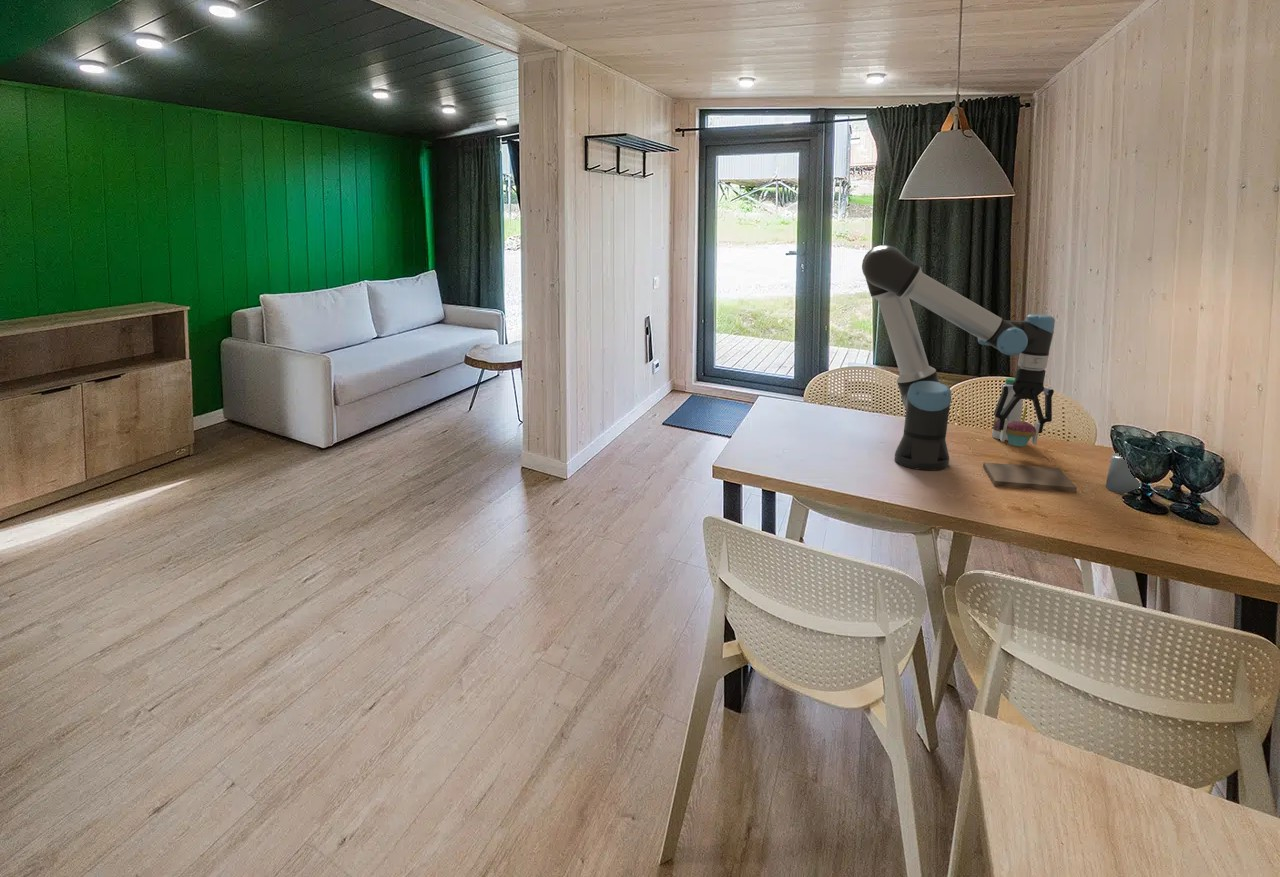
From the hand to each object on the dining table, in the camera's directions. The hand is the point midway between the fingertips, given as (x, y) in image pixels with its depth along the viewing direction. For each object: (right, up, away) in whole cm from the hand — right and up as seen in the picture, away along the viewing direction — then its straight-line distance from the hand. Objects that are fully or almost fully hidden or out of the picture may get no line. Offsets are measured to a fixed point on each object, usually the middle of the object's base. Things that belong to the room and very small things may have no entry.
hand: (1017, 441), depth 218 cm
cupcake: (0, -1, 0) cm, 1 cm away
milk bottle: (+6, +1, +20) cm, 21 cm away
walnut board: (-7, -10, -18) cm, 22 cm away
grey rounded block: (+15, -13, -25) cm, 32 cm away
